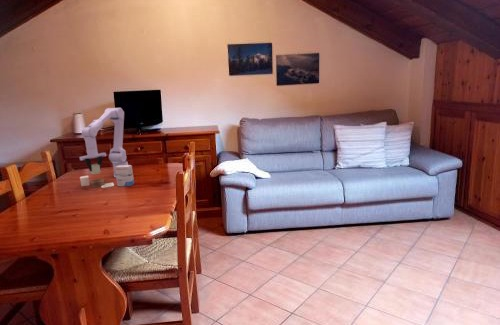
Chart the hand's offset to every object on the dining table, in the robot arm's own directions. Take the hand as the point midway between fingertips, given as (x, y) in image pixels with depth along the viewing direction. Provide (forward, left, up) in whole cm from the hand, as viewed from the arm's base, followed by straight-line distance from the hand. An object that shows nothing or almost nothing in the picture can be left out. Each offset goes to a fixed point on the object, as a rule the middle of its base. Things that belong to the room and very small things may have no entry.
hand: (95, 170), depth 204 cm
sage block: (0, 0, -2) cm, 2 cm away
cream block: (+7, -6, -10) cm, 13 cm away
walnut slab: (0, +1, -10) cm, 10 cm away
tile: (-5, +5, -10) cm, 12 cm away
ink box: (-15, +10, -10) cm, 21 cm away
